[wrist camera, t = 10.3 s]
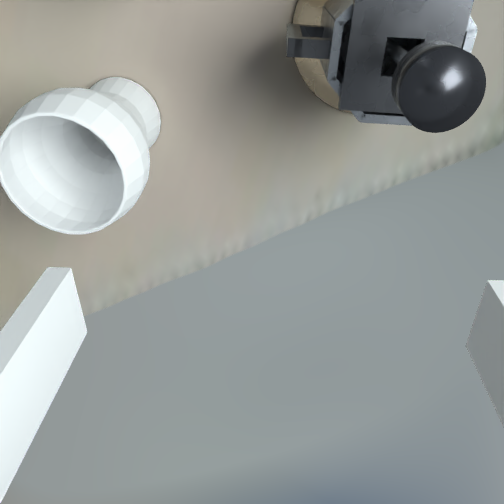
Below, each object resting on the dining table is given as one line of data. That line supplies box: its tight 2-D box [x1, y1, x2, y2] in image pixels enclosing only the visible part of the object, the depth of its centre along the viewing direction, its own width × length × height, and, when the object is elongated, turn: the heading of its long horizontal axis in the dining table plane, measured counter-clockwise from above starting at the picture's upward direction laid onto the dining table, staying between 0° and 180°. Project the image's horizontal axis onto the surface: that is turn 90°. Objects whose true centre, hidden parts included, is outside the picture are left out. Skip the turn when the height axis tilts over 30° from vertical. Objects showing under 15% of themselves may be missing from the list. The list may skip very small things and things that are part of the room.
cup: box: [0, 77, 161, 234], centre depth 40 cm, size 11×11×15 cm
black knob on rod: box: [340, 18, 486, 133], centre depth 31 cm, size 6×6×19 cm
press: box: [286, 0, 478, 126], centre depth 36 cm, size 14×14×12 cm
